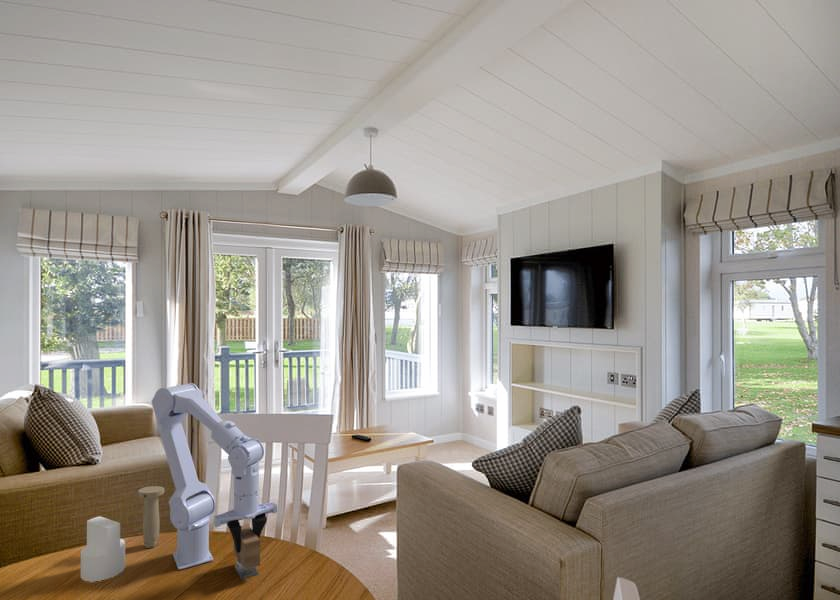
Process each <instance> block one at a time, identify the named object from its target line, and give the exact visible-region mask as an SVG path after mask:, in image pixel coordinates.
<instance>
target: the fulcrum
mask: <svg viewBox="0 0 840 600" xmlns="http://www.w3.org/2000/svg"><path fill="white" fill-rule="evenodd" d="M234 570H235V571H236V573H237V575H238V576H240V577H239V578H240V580H243V579H246V578H249V577H250V576H251V577H253V575H254V576H257V575H259V570H258V569H257V567H253V568H250V569H246V570H244V568H243V566H242V565H241V563H240V562H239V560H238V558H237V559H236V565H234Z"/></svg>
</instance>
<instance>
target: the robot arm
mask: <svg viewBox="0 0 840 600" xmlns="http://www.w3.org/2000/svg"><path fill="white" fill-rule="evenodd" d="M151 404H152V408H153V411H154V415H155V419H156V423H157V424H156V425H157V428H158V432H159V435H160V438H161V442H162V446H163V449H164V453H165V456H166V460H167V463H168V467H169V471H170V473H171V477H172V480H173V484H174V487H175V491H174V492H173V494H172V495H171V497H170V499H169V500H168V504H169V505H168V506H169V508H170V509H169V518H170V522H171V524H172V525H173V527H174V528H175V529H176V551H173V552H172V556H173V559H174V562H175V564H176V567H177V569H178V570H180V571H181V570H183V569H188V568H190V567H194V566H197V565H202V564H205V563H209V562H212V561H213V560H214V557H213V555H212V553H211V551H210V545H209V543H210V542H209V541H210V540H209V539H210V538H209V537H210V533H209V532H210V527H209V526H210V523H209V522H210V520H211V519H212V514H214V512H215V510H216V508H217V507H216V506H217V502H216V498H215V496H214V494H213V493H212V492H211V491H210V488H209V485H208V484H206V483H203V482H202V481H200V480H199V478H198V474H197V471H196V468H195V463H194V460H193V457H192V453H191V450H190V446H189V443H188V440H187V437H186V433H185V430H184V426H183V421H184V419H185V418H186V416H187V415H188V414H191V416H192V417H194V418H195V419H197V421H199V423H201V424H202V425H204V426H205V427H206V428H207V429H208V430H210V431H211V435H210V437H211V439H212V440H213V442H215V443H216V444H217V445H218V446H219V447H220V449H222V450H223V451H224V452H225V453H226V454H227V460H228V463H229V464H230V467H231V470H232V471H231V472H232V475H233V509H231V510H229V511H226V512H223V513H221V514H218V515H214V516H213V525H214V527H215V528H218V527H221V526H223V525H227V527H228V529H229V531H230V534H231V536H232V539H233V545H234V544H235V550H236V552H237V553H239V552H240V546H241V544H240V535H241V526H242V525H241V524H240V521H242V520H251V526H252V527H251V529H252V530H253V531H254V533H255V534H256V535H257V537H258V538H259V539H260V538H261V535H262V532H263V529H264V527H265V526H266V524H267V521H268V517H267V516H266V515H267V514H276V513H278V504H277V502H268V503H260V479H259V478H260V476H259V475H260V461H261V460H262V459H263V458H264V454H265V448H264V446H263V444H262V442H261V441H260V440H259V439H257V438H251V437H249V436H247V435H246V434H245V433H243V432H242V430H241V429H240V428H238V427H237V425H236V423H235V422H234V421H231V420H223V419H222V418H221V417H220V416H219V415H218V413H217V412H216V411H215V410H214V408H213V407H211V405H210V404H209V403H208V402H207V401H206V399H204V397H203V391H202V390H201V389H200V388H198V386H197V385H196V384H195V383H193V382H187V383H183V384H180V385H174V386H169V387H160V388H158V389H157V390H156V391H155V393H154V396H153V398H152V400H151Z"/></svg>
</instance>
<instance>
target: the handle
mask: <svg viewBox="0 0 840 600" xmlns="http://www.w3.org/2000/svg"><path fill="white" fill-rule="evenodd" d="M164 494H165V487H163V486H159V485H153V486H145V487H142V488H140V489H138V491H137V496H138V497H140V498H141V499H143V503H144V504H143V517H142V536H143V545H144V547H145V549H151V548H155V547H156V546H158V545H159V536H160V527H161V526H160V524H161V523H160V522H161V520H160V511H159V509H160V507H159V498H160V497H161V496H163V495H164Z"/></svg>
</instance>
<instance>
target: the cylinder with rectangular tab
mask: <svg viewBox="0 0 840 600" xmlns="http://www.w3.org/2000/svg"><path fill="white" fill-rule="evenodd" d="M124 568H126V541H125V540H124V539H123V538H121V522H118V521H115V520H112V519H109V518H107V517H103V516H96V517H92V518H90V519H88V520H86V545H85V547H83V548H82V549H81V550H80V579H81V578H82V579H83V580H85V581H90V582H89V583H96V582H95V581H99V582H102V581H101V580H104V579H107V580H109V579H108V578H110V579H112V578H115V577H116V576H118V575H120V574H121V573H123V571H124V570H125V569H124ZM120 572H121V573H120ZM119 573H120V574H119ZM117 574H118V575H117ZM115 575H116V576H115ZM114 576H115V577H114ZM111 577H112V578H111ZM93 581H94V582H93ZM104 581H105V580H104Z"/></svg>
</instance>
